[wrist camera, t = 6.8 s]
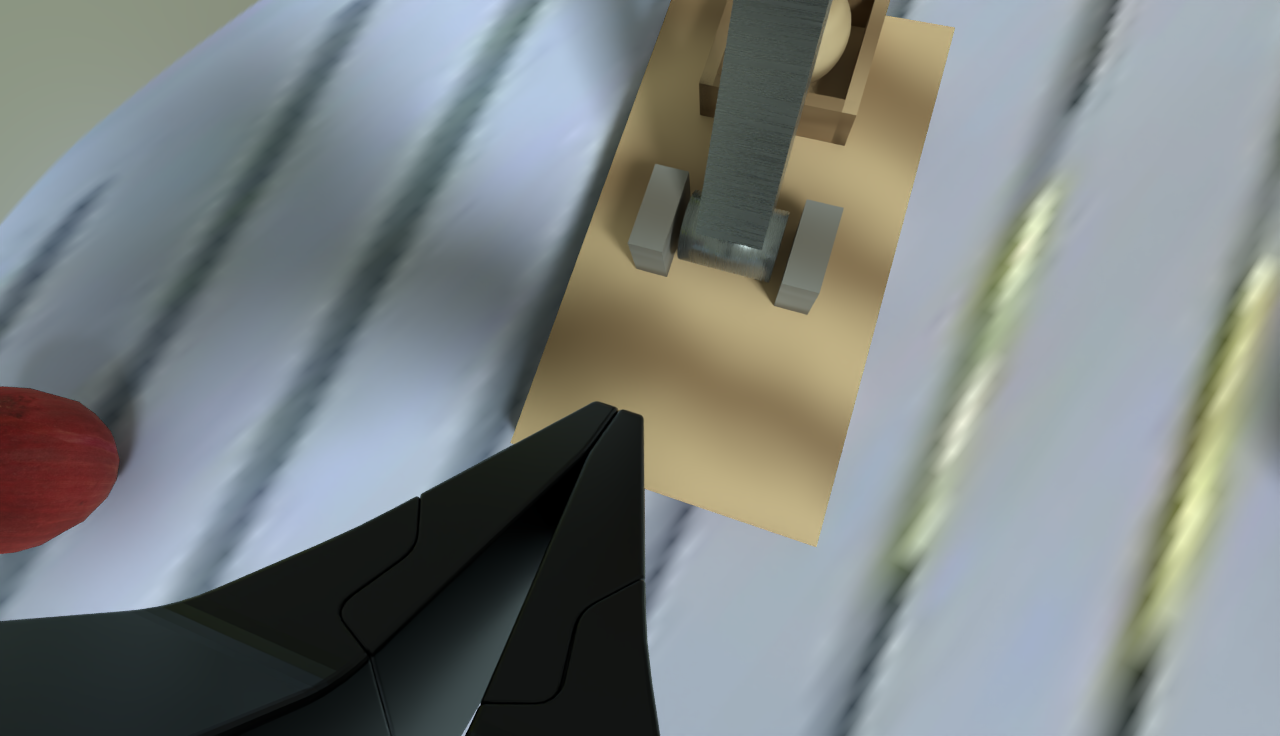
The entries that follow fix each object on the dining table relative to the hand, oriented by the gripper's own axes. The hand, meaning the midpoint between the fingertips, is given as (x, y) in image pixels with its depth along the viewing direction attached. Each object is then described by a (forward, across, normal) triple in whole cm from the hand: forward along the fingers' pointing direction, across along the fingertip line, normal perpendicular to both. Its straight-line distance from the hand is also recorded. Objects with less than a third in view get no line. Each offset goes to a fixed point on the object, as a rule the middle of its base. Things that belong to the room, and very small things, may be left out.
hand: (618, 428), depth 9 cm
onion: (+3, +22, +14) cm, 26 cm away
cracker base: (+14, 0, +3) cm, 14 cm away
